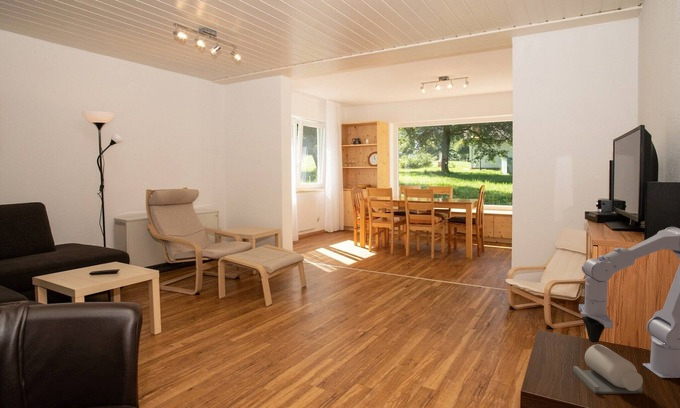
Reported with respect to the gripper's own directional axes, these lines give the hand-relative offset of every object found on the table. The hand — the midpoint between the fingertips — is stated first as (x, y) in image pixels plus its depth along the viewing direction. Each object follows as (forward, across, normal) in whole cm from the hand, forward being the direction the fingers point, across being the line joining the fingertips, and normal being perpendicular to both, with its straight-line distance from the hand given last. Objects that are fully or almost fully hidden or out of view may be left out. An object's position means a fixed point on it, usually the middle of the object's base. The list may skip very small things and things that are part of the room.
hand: (593, 341), depth 126 cm
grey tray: (+9, +7, 0) cm, 12 cm away
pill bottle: (+5, 0, +1) cm, 5 cm away
